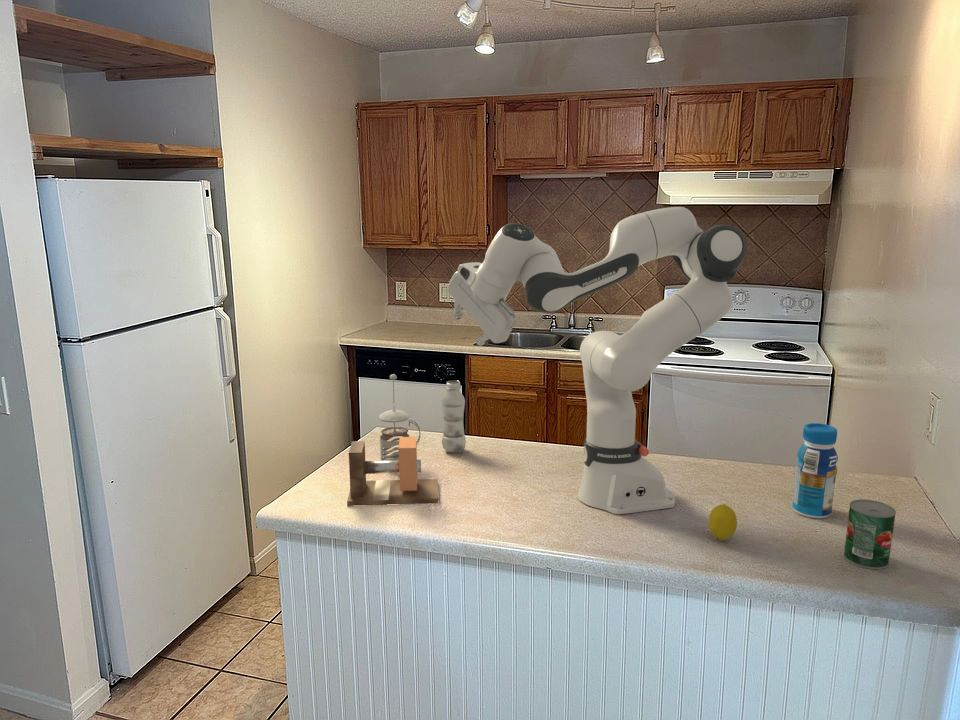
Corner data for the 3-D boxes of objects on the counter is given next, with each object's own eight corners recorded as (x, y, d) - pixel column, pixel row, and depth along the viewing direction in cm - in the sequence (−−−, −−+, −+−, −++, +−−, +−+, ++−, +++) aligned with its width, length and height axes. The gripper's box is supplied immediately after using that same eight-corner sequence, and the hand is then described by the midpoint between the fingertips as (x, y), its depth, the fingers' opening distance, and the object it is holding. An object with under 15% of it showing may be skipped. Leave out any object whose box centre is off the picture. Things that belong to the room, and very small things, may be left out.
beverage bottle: (784, 504, 165) (792, 421, 161) (818, 503, 166) (828, 420, 161) (803, 520, 157) (812, 433, 152) (840, 519, 158) (850, 432, 153)
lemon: (720, 548, 144) (723, 511, 142) (701, 537, 149) (704, 501, 147) (741, 543, 146) (744, 507, 145) (722, 532, 151) (725, 497, 150)
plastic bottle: (463, 456, 196) (462, 385, 192) (439, 454, 198) (438, 384, 193) (468, 448, 203) (467, 380, 198) (445, 446, 204) (444, 378, 200)
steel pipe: (421, 469, 172) (420, 457, 171) (421, 474, 169) (420, 462, 168) (358, 471, 170) (357, 459, 170) (356, 476, 167) (356, 463, 167)
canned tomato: (840, 547, 145) (846, 496, 142) (883, 553, 142) (890, 501, 140) (847, 566, 137) (854, 513, 135) (893, 572, 135) (900, 518, 133)
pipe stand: (437, 483, 177) (437, 436, 175) (438, 503, 166) (437, 453, 163) (352, 485, 176) (350, 438, 173) (347, 506, 164) (345, 455, 162)
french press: (377, 460, 193) (374, 370, 188) (420, 458, 195) (418, 369, 189) (376, 473, 184) (373, 379, 178) (421, 471, 185) (419, 378, 180)
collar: (417, 477, 175) (416, 436, 172) (416, 490, 167) (416, 447, 164) (400, 477, 174) (399, 437, 172) (399, 490, 166) (398, 448, 164)
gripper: (527, 314, 162) (502, 357, 170) (474, 258, 170) (452, 302, 179) (508, 318, 157) (484, 362, 165) (455, 260, 166) (434, 305, 174)
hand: (467, 330), depth 172 cm, fingers open, 8 cm apart
